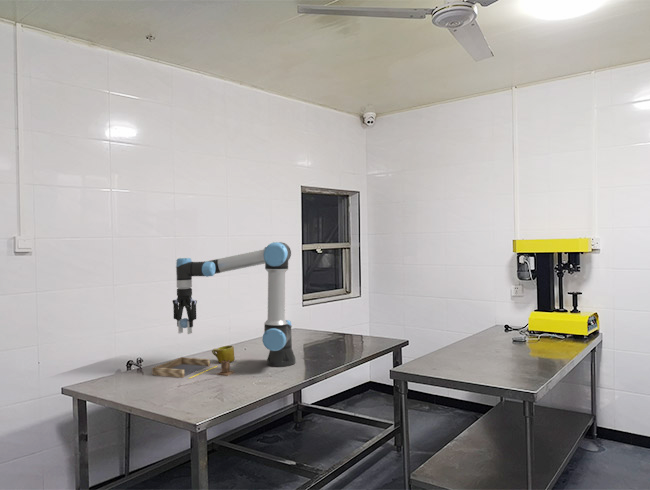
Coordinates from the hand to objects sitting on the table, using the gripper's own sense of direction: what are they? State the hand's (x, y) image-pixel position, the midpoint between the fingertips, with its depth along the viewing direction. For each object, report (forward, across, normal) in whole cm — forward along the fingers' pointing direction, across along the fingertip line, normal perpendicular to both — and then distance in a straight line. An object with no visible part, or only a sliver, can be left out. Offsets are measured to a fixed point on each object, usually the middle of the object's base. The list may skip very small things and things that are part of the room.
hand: (185, 333), depth 254 cm
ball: (-5, 0, 0) cm, 5 cm away
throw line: (+19, -11, 0) cm, 22 cm away
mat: (+19, +2, 0) cm, 20 cm away
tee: (+19, -24, 0) cm, 30 cm away
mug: (+19, -9, -21) cm, 30 cm away
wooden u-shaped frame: (+19, +2, 0) cm, 20 cm away
